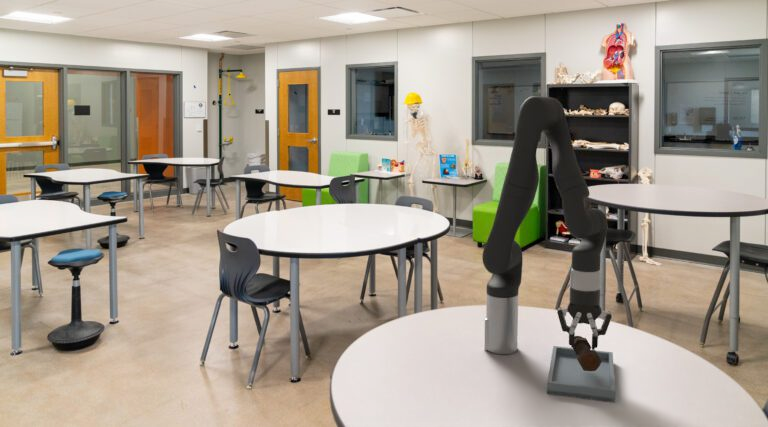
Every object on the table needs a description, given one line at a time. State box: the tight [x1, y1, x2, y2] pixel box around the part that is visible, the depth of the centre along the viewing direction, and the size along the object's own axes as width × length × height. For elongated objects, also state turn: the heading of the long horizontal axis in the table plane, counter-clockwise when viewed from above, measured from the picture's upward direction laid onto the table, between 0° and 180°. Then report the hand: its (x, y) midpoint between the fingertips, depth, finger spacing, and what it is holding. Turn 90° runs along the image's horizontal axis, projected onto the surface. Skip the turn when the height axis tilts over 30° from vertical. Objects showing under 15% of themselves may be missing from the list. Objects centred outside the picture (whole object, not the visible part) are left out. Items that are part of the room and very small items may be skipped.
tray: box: [546, 345, 616, 403], centre depth 159 cm, size 16×24×3 cm, turn 161°
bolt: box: [573, 335, 602, 371], centre depth 157 cm, size 6×5×15 cm
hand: (583, 347), depth 158 cm, fingers closed on bolt, 4 cm apart
